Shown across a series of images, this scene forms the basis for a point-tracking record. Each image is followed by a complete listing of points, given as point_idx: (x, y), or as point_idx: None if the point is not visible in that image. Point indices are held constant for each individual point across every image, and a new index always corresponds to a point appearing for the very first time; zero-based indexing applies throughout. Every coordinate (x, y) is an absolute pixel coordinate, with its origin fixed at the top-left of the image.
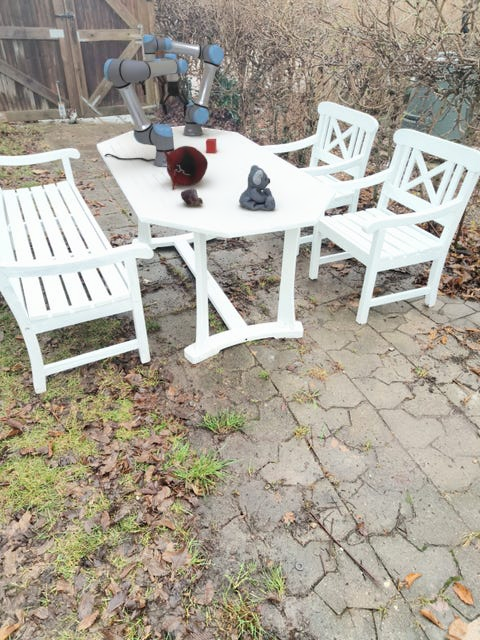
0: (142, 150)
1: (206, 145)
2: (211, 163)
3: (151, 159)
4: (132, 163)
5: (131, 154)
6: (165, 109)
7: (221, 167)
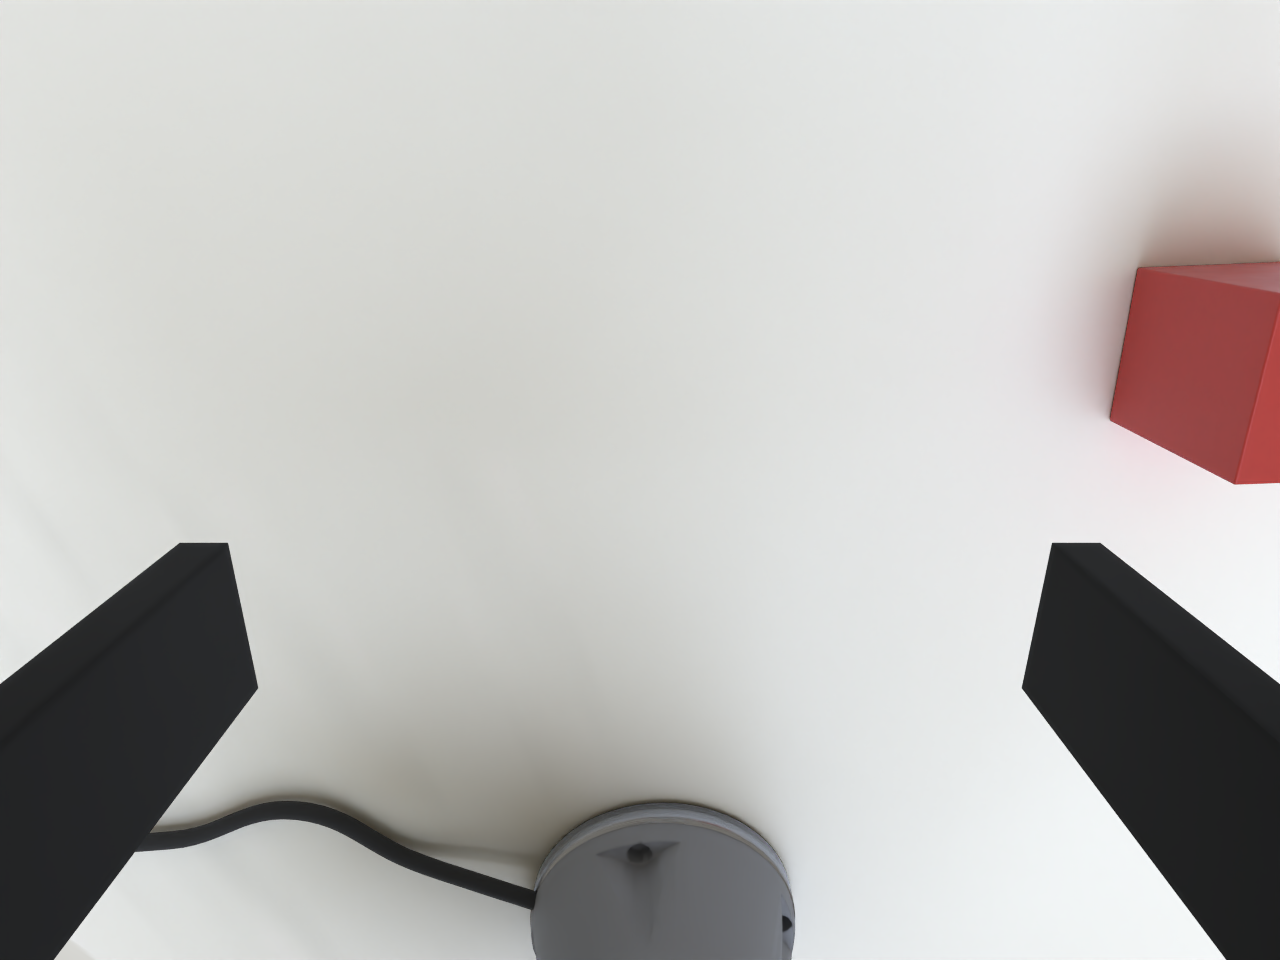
0: (68, 397)
1: (1187, 457)
2: None
3: (469, 889)
4: (291, 928)
5: (50, 619)
6: (111, 861)
7: None
